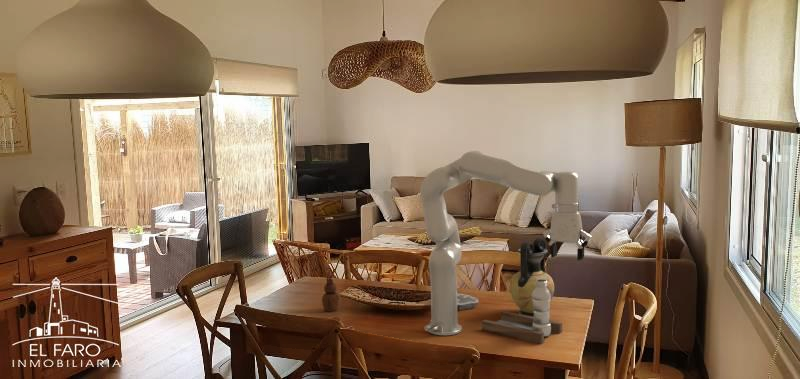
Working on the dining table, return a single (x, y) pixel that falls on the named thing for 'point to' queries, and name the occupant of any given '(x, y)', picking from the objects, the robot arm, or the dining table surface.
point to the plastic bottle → (541, 308)
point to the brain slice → (466, 302)
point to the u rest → (518, 327)
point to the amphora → (530, 275)
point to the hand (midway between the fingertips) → (567, 258)
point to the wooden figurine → (330, 296)
